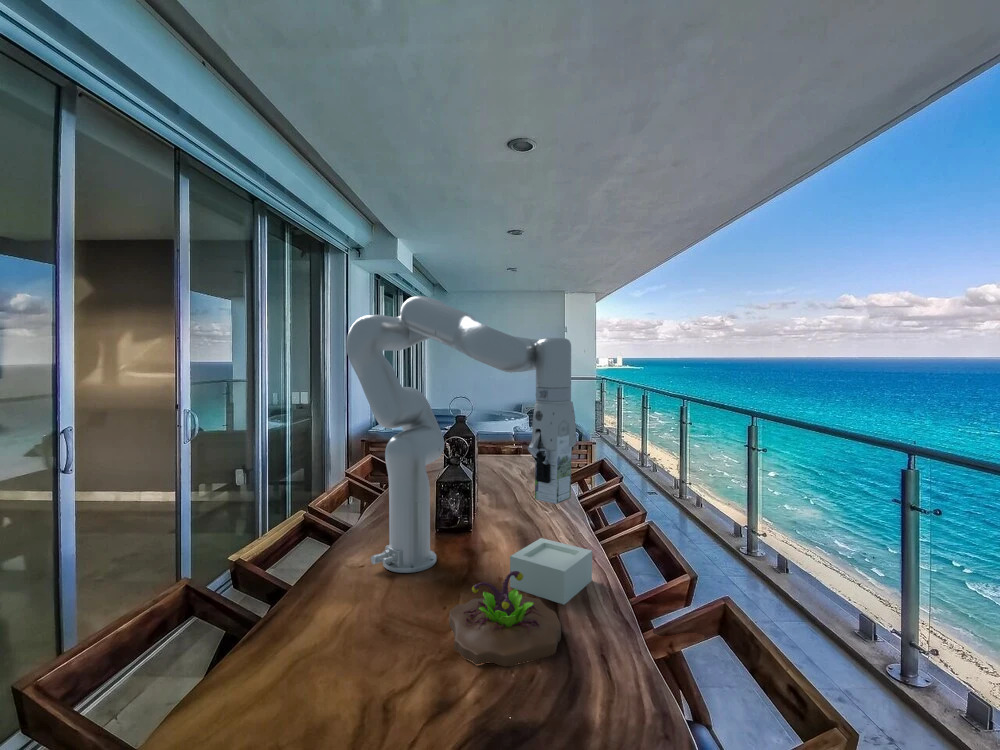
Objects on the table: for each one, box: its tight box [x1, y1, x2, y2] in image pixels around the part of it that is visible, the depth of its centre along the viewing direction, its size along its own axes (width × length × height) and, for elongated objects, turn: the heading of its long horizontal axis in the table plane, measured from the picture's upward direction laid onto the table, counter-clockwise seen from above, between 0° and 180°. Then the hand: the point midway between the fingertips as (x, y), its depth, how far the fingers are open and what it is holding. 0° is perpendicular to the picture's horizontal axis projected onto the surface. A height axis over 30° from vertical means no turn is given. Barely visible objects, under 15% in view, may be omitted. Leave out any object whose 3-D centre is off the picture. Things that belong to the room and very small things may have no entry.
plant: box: [448, 571, 562, 667], centre depth 90 cm, size 20×20×11 cm
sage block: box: [509, 537, 593, 606], centre depth 109 cm, size 13×13×7 cm
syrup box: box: [534, 435, 573, 505], centre depth 108 cm, size 6×6×14 cm
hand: (553, 478), depth 108 cm, fingers closed on syrup box, 6 cm apart
